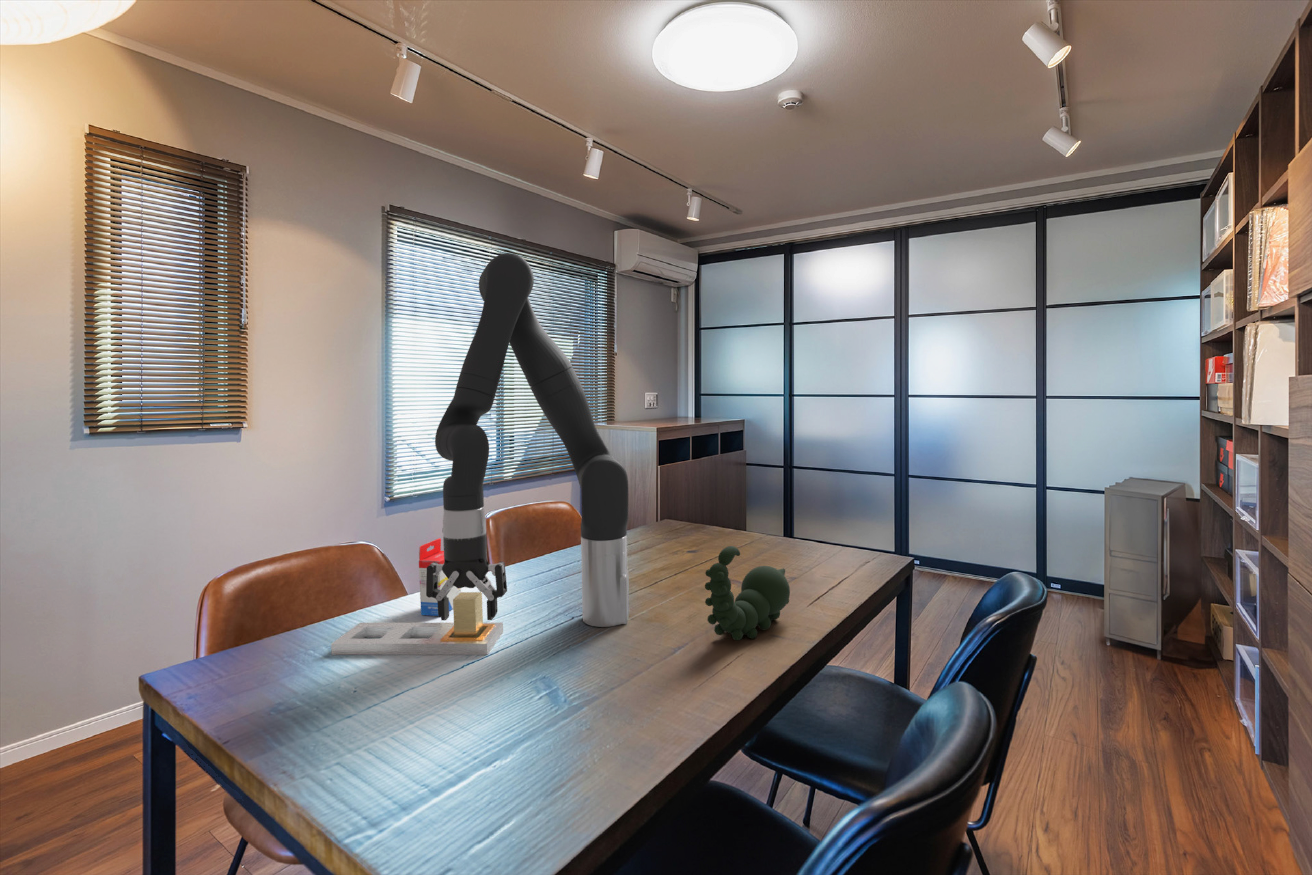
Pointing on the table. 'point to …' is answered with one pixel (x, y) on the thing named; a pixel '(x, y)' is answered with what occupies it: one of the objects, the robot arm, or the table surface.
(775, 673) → the table surface
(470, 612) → the brass block
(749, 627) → the toy figurine
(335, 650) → the white flat slotted block
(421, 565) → the ink box
